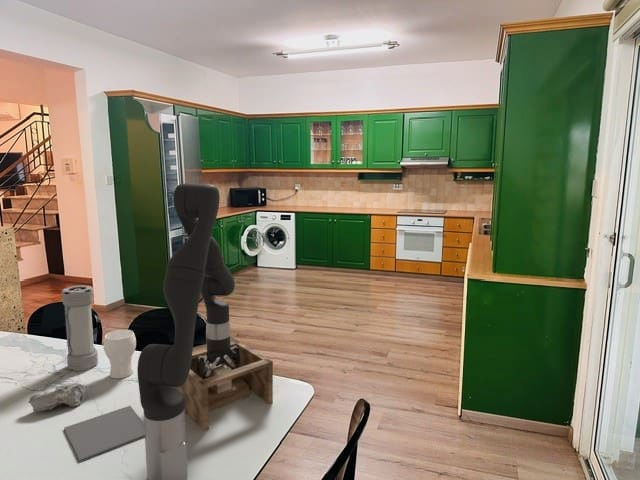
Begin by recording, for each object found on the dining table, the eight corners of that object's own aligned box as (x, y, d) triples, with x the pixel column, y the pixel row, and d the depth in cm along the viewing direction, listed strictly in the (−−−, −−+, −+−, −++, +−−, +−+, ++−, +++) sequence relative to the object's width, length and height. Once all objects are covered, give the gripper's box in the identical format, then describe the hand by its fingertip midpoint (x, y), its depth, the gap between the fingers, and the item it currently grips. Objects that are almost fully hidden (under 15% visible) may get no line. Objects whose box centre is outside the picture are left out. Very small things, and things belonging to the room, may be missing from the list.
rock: (32, 421, 125) (30, 400, 124) (29, 411, 130) (27, 390, 129) (91, 403, 135) (89, 383, 134) (85, 394, 140) (84, 375, 139)
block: (231, 388, 137) (231, 368, 136) (217, 393, 134) (217, 373, 133) (221, 380, 142) (220, 361, 141) (207, 385, 139) (206, 365, 138)
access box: (272, 402, 137) (272, 361, 135) (203, 430, 121) (202, 385, 119) (231, 373, 156) (231, 337, 154) (167, 394, 141) (166, 354, 138)
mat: (151, 434, 119) (151, 432, 119) (79, 461, 108) (79, 459, 108) (130, 407, 133) (130, 405, 133) (64, 429, 121) (64, 427, 121)
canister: (61, 369, 157) (54, 290, 152) (83, 358, 167) (78, 284, 162) (82, 373, 154) (76, 293, 149) (104, 361, 164) (99, 286, 159)
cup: (125, 382, 148) (122, 341, 146) (98, 378, 150) (95, 338, 148) (143, 368, 159) (141, 330, 156) (118, 365, 161) (116, 328, 158)
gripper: (203, 343, 128) (204, 393, 131) (243, 332, 137) (244, 379, 140) (192, 336, 134) (193, 384, 136) (232, 325, 143) (232, 370, 145)
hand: (219, 381), depth 138 cm, fingers open, 8 cm apart
